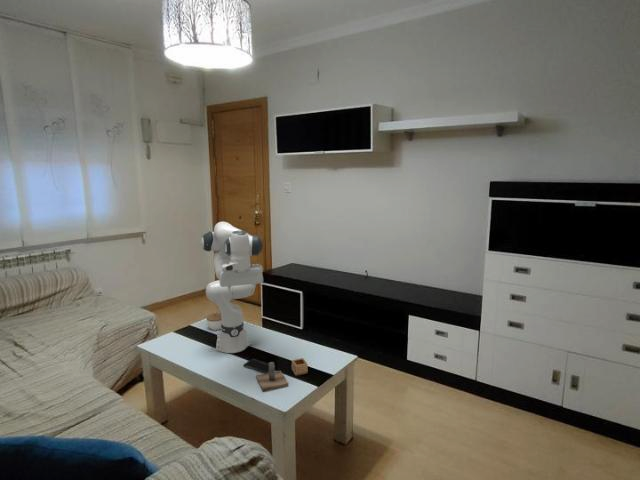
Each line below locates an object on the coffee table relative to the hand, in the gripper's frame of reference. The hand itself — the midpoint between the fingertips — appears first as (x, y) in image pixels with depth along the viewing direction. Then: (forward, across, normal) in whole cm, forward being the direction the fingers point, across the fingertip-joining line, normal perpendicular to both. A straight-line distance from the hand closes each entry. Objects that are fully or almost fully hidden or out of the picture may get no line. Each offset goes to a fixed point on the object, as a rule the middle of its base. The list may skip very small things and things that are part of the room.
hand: (242, 294), depth 186 cm
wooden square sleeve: (+39, -25, +7) cm, 47 cm away
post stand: (+40, -10, +12) cm, 43 cm away
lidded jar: (+33, +7, -60) cm, 68 cm away
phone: (+39, -8, -4) cm, 40 cm away
